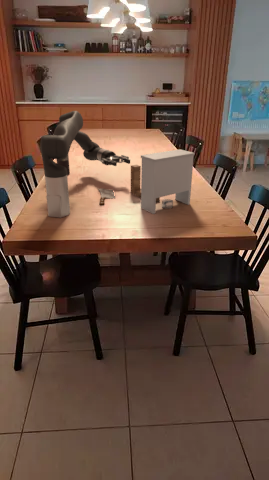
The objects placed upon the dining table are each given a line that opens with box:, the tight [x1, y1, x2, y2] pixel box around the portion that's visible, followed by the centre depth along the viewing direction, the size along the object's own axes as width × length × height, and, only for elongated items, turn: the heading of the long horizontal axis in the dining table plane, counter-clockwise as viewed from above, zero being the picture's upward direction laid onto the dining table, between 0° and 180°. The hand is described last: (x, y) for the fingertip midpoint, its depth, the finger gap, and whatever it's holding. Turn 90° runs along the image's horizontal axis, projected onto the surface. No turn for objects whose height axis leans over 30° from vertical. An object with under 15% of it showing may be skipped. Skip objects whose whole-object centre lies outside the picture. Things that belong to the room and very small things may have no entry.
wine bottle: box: [56, 121, 71, 176], centre depth 209 cm, size 7×7×30 cm
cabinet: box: [140, 149, 196, 215], centre depth 162 cm, size 10×23×24 cm, turn 126°
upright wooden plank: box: [130, 164, 161, 203], centre depth 176 cm, size 18×4×14 cm, turn 36°
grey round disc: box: [161, 198, 174, 210], centre depth 166 cm, size 5×5×3 cm
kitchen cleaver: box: [97, 188, 116, 206], centre depth 178 cm, size 24×1×10 cm
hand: (122, 162), depth 187 cm, fingers open, 8 cm apart
